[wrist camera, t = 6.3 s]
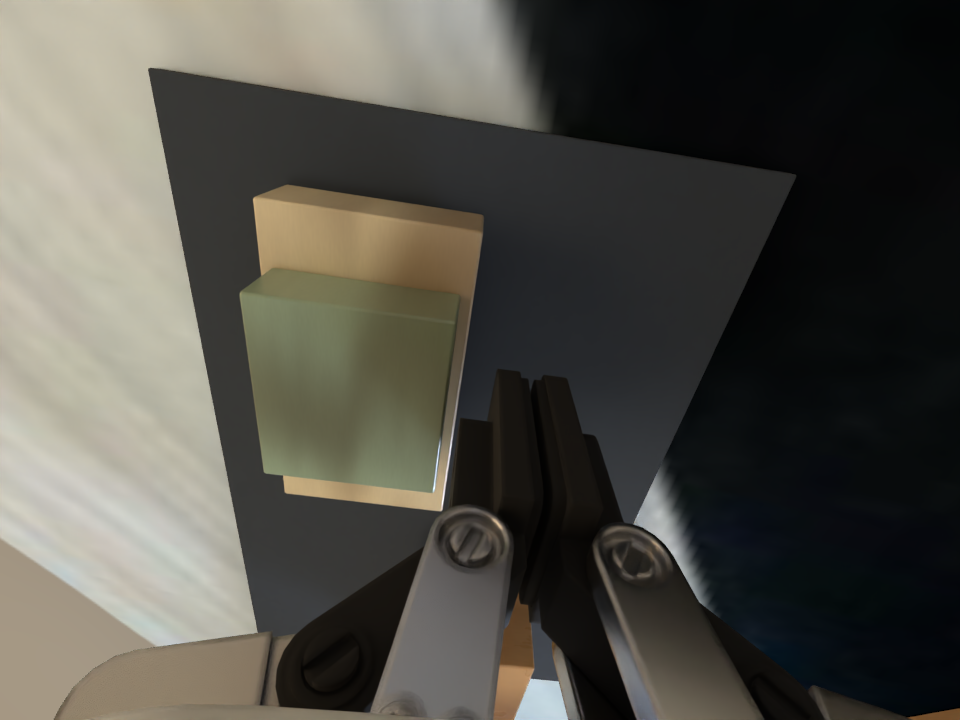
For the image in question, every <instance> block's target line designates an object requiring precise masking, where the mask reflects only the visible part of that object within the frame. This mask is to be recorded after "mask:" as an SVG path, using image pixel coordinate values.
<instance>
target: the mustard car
mask: <svg viewBox="0 0 960 720" xmlns="http://www.w3.org/2000/svg"><path fill="white" fill-rule="evenodd" d="M533 671H534V655H533V642H532V629H531V623H529V611H528V605H523V604H520V601H519V593H518V596H517V599H516V602H515V606H514V609H513V612H512V615H511V618H510V622H509V625H508V626H507V627H506V628H505V629H504V634H503V642H502V650H501V659H500V667H499V675H498V683H497V692H496V700H495V708H494V716H493V720H514V718H515V716H516V713H517V711H518V708H519V706H520V703H521V701H522V699H523V696H524V694H525V691H526V689H527V686H528V684H529V681H530V679H531V676H532V674H533Z"/></svg>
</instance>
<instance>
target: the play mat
mask: <svg viewBox="0 0 960 720" xmlns="http://www.w3.org/2000/svg"><path fill="white" fill-rule="evenodd" d="M148 71H149V76H150V81H151V87H152V92H153V97H154V102H155V107H156V112H157V117H158V122H159V128H160V133H161V138H162V143H163V148H164V153H165V158H166V163H167V169H168V174H169V179H170V184H171V189H172V194H173V199H174V205H175V210H176V215H177V220H178V225H179V230H180V235H181V240H182V246H183V251H184V256H185V261H186V266H187V271H188V276H189V281H190V287H191V292H192V297H193V302H194V307H195V312H196V317H197V322H198V328H199V333H200V338H201V343H202V348H203V353H204V358H205V364H206V369H207V374H208V379H209V384H210V389H211V394H212V399H213V405H214V410H215V415H216V420H217V425H218V430H219V435H220V440H221V446H222V451H223V456H224V461H225V466H226V471H227V476H228V481H229V487H230V492H231V497H232V502H233V507H234V512H235V517H236V523H237V528H238V533H239V538H240V543H241V548H242V553H243V558H244V564H245V569H246V574H247V579H248V584H249V589H250V594H251V599H252V605H253V610H254V615H255V620H256V625H257V630H258V633H261V632H269V631H272V633H273V637H278V636H285V635H292V634H297V633H298V632H299V631H300V630H301V629H302V628H304V627H305V626H306V625H307V624H308V623H310V622H311V621H313V620H314V619H316V618H317V617H319V616H320V615H322V614H323V613H325V612H326V611H328V610H329V609H331V608H332V607H334V606H335V605H337V604H338V603H340V602H341V601H343V600H344V599H346V598H347V597H349V596H350V595H352V594H353V593H355V592H356V591H358V590H359V589H361V588H362V587H364V586H365V585H367V584H368V583H370V582H371V581H373V580H374V579H376V578H377V577H379V576H380V575H382V574H383V573H385V572H386V571H388V570H389V569H391V568H392V567H394V566H395V565H397V564H398V563H400V562H401V561H403V560H404V559H406V558H407V557H409V556H410V555H412V554H413V553H415V552H416V551H418V550H419V549H421V548H422V547H424V546H425V544H426V541H427V538H428V535H429V532H430V528H431V526H432V525H433V523H434V521H435V519H436V518H437V517H438V516H439V515H440V514H441V513H442V512H443V511H445V510H447V509H448V506H449V497H450V487H451V478H452V469H453V461H454V454H455V447H456V440H457V433H458V427H459V421H460V418H467V419H474V420H482V421H487V418H488V412H489V407H490V402H491V397H492V392H493V386H494V381H495V376H496V372H497V369H505V370H513V371H520V373H521V378H528V380H529V387H530V392H531V388H532V384H533V381H534V380H541V378H542V376H543V375H550V376H557V377H565V378H567V380H568V383H569V386H570V390H571V394H572V397H573V401H574V404H575V408H576V411H577V415H578V419H579V422H580V426H581V429H582V433H583V434H591V435H594V436H595V437H596V438H597V440H598V443H599V446H600V449H601V452H602V456H603V459H604V462H605V465H606V468H607V471H608V474H609V477H610V481H611V484H612V487H613V490H614V493H615V496H616V499H617V503H618V506H619V509H620V512H621V515H622V518H623V521H624V523H631V524H633V523H634V520H635V518H636V516H637V514H638V512H639V510H640V508H641V506H642V503H643V501H644V499H645V497H646V495H647V493H648V491H649V489H650V486H651V484H652V482H653V480H654V478H655V476H656V474H657V472H658V469H659V467H660V465H661V463H662V461H663V459H664V457H665V455H666V452H667V450H668V448H669V446H670V444H671V442H672V440H673V438H674V435H675V433H676V431H677V429H678V427H679V425H680V423H681V421H682V418H683V416H684V414H685V412H686V410H687V408H688V406H689V404H690V401H691V399H692V397H693V395H694V393H695V391H696V389H697V387H698V384H699V382H700V380H701V378H702V376H703V374H704V372H705V370H706V367H707V365H708V363H709V361H710V359H711V357H712V355H713V353H714V350H715V348H716V346H717V344H718V342H719V340H720V338H721V336H722V333H723V331H724V329H725V327H726V325H727V323H728V321H729V319H730V316H731V314H732V312H733V310H734V308H735V306H736V304H737V302H738V299H739V297H740V295H741V293H742V291H743V289H744V287H745V285H746V282H747V280H748V278H749V276H750V274H751V272H752V270H753V268H754V265H755V263H756V261H757V259H758V257H759V255H760V253H761V251H762V248H763V246H764V244H765V242H766V240H767V238H768V236H769V234H770V231H771V229H772V227H773V225H774V223H775V221H776V219H777V217H778V214H779V212H780V210H781V208H782V206H783V204H784V202H785V200H786V197H787V195H788V193H789V191H790V189H791V187H792V185H793V183H794V180H795V178H796V175H795V174H791V173H785V172H779V171H773V170H767V169H761V168H755V167H749V166H743V165H737V164H731V163H725V162H719V161H713V160H707V159H701V158H695V157H689V156H683V155H677V154H670V153H664V152H658V151H652V150H646V149H640V148H634V147H628V146H622V145H616V144H610V143H604V142H598V141H592V140H586V139H580V138H574V137H568V136H562V135H556V134H550V133H543V132H537V131H531V130H525V129H519V128H513V127H507V126H501V125H495V124H489V123H483V122H477V121H471V120H465V119H459V118H453V117H447V116H441V115H435V114H429V113H423V112H416V111H410V110H404V109H398V108H392V107H386V106H380V105H374V104H368V103H362V102H356V101H350V100H344V99H338V98H332V97H326V96H320V95H314V94H308V93H302V92H296V91H289V90H283V89H277V88H271V87H265V86H259V85H253V84H247V83H241V82H235V81H229V80H223V79H217V78H211V77H205V76H199V75H193V74H187V73H181V72H175V71H168V70H162V69H155V68H149V69H148ZM284 185H293V186H300V187H306V188H313V189H319V190H326V191H332V192H339V193H345V194H352V195H358V196H365V197H371V198H378V199H384V200H391V201H397V202H404V203H410V204H417V205H423V206H430V207H436V208H443V209H449V210H456V211H462V212H469V213H475V214H481V215H483V216H484V225H483V237H482V244H481V251H480V258H479V264H478V271H477V278H476V285H475V292H474V298H473V305H472V312H471V319H470V326H469V333H468V339H467V346H466V353H465V360H464V367H463V373H462V380H461V387H460V394H459V401H458V407H457V414H456V421H455V428H454V435H453V441H452V448H451V455H450V462H449V469H448V475H447V482H446V489H445V496H444V503H443V509H442V511H432V510H424V509H415V508H407V507H398V506H390V505H381V504H372V503H364V502H355V501H347V500H338V499H330V498H321V497H313V496H304V495H296V494H287V493H285V489H284V480H283V475H274V474H266V473H264V469H263V462H262V455H261V447H260V440H259V433H258V425H257V418H256V411H255V404H254V396H253V389H252V382H251V375H250V367H249V360H248V353H247V346H246V338H245V331H244V324H243V316H242V309H241V302H240V292H241V291H242V290H243V289H245V288H246V287H247V286H249V285H250V284H251V283H253V282H254V281H255V280H257V279H258V278H259V277H261V268H260V259H259V250H258V240H257V231H256V222H255V213H254V203H253V198H254V197H256V196H258V195H261V194H264V193H266V192H269V191H271V190H274V189H276V188H279V187H282V186H284ZM531 629H532V642H533V655H534V671H533V674H532V676H531V679H541V680H551V681H559V680H558V676H557V672H556V668H555V664H554V660H553V653H552V642H553V641H552V640H551V639H550V638H549V637H548V636H547V635H546V634H545V632H544V631H543V630H542V629H541V624H537V623H531Z"/></svg>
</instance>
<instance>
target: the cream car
mask: <svg viewBox="0 0 960 720" xmlns="http://www.w3.org/2000/svg"><path fill="white" fill-rule="evenodd" d="M253 203H254V213H255V222H256V231H257V240H258V250H259V259H260V268H261V277H259V278H258V279H257V280H255V281H254V282H253V283H251V284H250V285H249V286H247V287H246V288H245V289H243V290H242V291H241V292H240V302H241V309H242V316H243V324H244V331H245V338H246V346H247V353H248V360H249V367H250V375H251V382H252V389H253V396H254V404H255V411H256V418H257V425H258V433H259V440H260V447H261V455H262V462H263V469H264V473H266V474H274V475H283V480H284V489H285V493H287V494H296V495H304V496H313V497H321V498H330V499H338V500H347V501H355V502H364V503H372V504H381V505H390V506H398V507H407V508H415V509H424V510H432V511H442V509H443V503H444V496H445V489H446V482H447V475H448V469H449V462H450V455H451V448H452V441H453V435H454V428H455V421H456V414H457V407H458V401H459V394H460V387H461V380H462V373H463V367H464V360H465V353H466V346H467V339H468V333H469V326H470V319H471V312H472V305H473V298H474V292H475V285H476V278H477V271H478V264H479V258H480V251H481V244H482V237H483V225H484V216H483V215H481V214H475V213H469V212H462V211H456V210H449V209H443V208H436V207H430V206H423V205H417V204H410V203H404V202H397V201H391V200H384V199H378V198H371V197H365V196H358V195H352V194H345V193H339V192H332V191H326V190H319V189H313V188H306V187H300V186H293V185H284V186H282V187H279V188H276V189H274V190H271V191H269V192H266V193H264V194H261V195H258V196H256V197H254V198H253Z"/></svg>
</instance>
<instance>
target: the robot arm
mask: <svg viewBox="0 0 960 720" xmlns="http://www.w3.org/2000/svg"><path fill="white" fill-rule="evenodd" d="M518 593H519V601H520V604H523V605H528V611H529V623H537V624H541V629H542V630H543V631H544V632H545V634H546V635H547V636H548V637H549V638H550V639H551V640H552V641H553V642H552V653H553V660H554V664H555V668H556V672H557V676H558V680H559V684H560V688H561V692H562V696H563V700H564V704H565V708H566V713H567V717H568V720H913V719H910V718H907V717H904V716H901V715H898V714H895V713H892V712H890V711H887V710H884V709H881V708H878V707H875V706H872V705H869V704H866V703H863V702H860V701H857V700H854V699H852V698H849V697H846V696H843V695H840V694H837V693H834V692H831V691H828V690H825V689H822V688H819V687H816V686H812V687H811V688H810V689H809V690H805V688H804V687H803V686H802V685H801V684H800V683H799V682H798V681H797V680H796V679H794V678H793V677H792V676H791V675H790V674H789V673H788V672H787V671H786V670H784V669H783V668H782V667H780V666H779V665H778V664H777V663H775V662H774V661H773V660H772V659H770V658H769V657H768V656H766V655H765V654H764V653H763V652H761V651H760V650H759V649H758V648H756V647H755V646H754V645H753V644H751V643H750V642H749V641H747V640H746V639H745V638H744V637H742V636H741V635H740V634H739V633H737V632H736V631H735V630H733V629H732V628H731V627H730V626H728V625H727V624H726V623H725V622H723V621H722V620H721V619H720V618H718V617H717V616H716V615H714V614H713V613H712V612H711V611H709V610H708V609H707V608H706V607H704V606H703V605H702V604H700V603H699V602H698V600H697V598H696V596H695V594H694V593H693V591H692V589H691V587H690V585H689V584H688V582H687V580H686V578H685V576H684V575H683V573H682V571H681V569H680V567H679V566H678V564H677V562H676V560H675V559H674V557H673V555H672V554H671V552H670V551H669V550H668V548H667V547H666V545H665V544H664V543H663V542H662V541H660V540H659V539H658V538H657V537H656V536H655V535H653V534H652V533H650V532H649V531H647V530H645V529H644V528H641V527H639V526H636V525H633V524H631V523H624V521H623V518H622V515H621V512H620V509H619V506H618V503H617V499H616V496H615V493H614V490H613V487H612V484H611V481H610V477H609V474H608V471H607V468H606V465H605V462H604V459H603V456H602V452H601V449H600V446H599V443H598V440H597V438H596V437H595V436H594V435H591V434H583V433H582V429H581V426H580V422H579V419H578V415H577V411H576V408H575V404H574V401H573V397H572V394H571V390H570V386H569V383H568V380H567V378H565V377H557V376H550V375H543V376H542V378H541V380H534V381H533V384H532V388H531V392H530V387H529V380H528V378H521V373H520V371H513V370H505V369H497V372H496V376H495V381H494V386H493V392H492V397H491V402H490V407H489V412H488V418H487V421H482V420H474V419H467V418H460V421H459V427H458V433H457V440H456V447H455V454H454V461H453V469H452V478H451V487H450V497H449V506H448V509H447V510H445V511H443V512H442V513H441V514H440V515H439V516H438V517H437V518H436V519H435V521H434V523H433V525H432V526H431V528H430V532H429V535H428V538H427V541H426V544H425V546H424V547H422V548H421V549H419V550H418V551H416V552H415V553H413V554H412V555H410V556H409V557H407V558H406V559H404V560H403V561H401V562H400V563H398V564H397V565H395V566H394V567H392V568H391V569H389V570H388V571H386V572H385V573H383V574H382V575H380V576H379V577H377V578H376V579H374V580H373V581H371V582H370V583H368V584H367V585H365V586H364V587H362V588H361V589H359V590H358V591H356V592H355V593H353V594H352V595H350V596H349V597H347V598H346V599H344V600H343V601H341V602H340V603H338V604H337V605H335V606H334V607H332V608H331V609H329V610H328V611H326V612H325V613H323V614H322V615H320V616H319V617H317V618H316V619H314V620H313V621H311V622H310V623H308V624H307V625H306V626H305V627H304V628H302V629H301V630H300V631H299V632H298V633H297V634H292V635H285V636H278V637H273V633H272V631H269V632H261V633H254V634H247V635H240V636H232V637H225V638H218V639H211V640H203V641H196V642H189V643H182V644H174V645H167V646H160V647H153V648H146V649H138V650H133V651H130V652H127V653H123V654H120V655H117V656H114V657H112V658H111V659H109V660H107V661H106V662H104V663H102V664H101V665H99V666H97V667H95V668H94V669H93V670H91V671H90V672H89V673H88V674H87V675H86V676H85V677H84V678H83V679H82V680H81V681H79V683H77V685H75V686H74V687H73V688H72V690H71V691H70V693H69V694H68V696H67V697H66V699H65V700H64V702H63V704H62V705H61V706H60V708H59V710H58V712H57V714H56V716H55V718H54V720H493V716H494V708H495V700H496V692H497V683H498V675H499V667H500V659H501V650H502V642H503V634H504V629H505V628H506V627H507V626H508V625H509V622H510V618H511V615H512V612H513V609H514V606H515V602H516V599H517V596H518Z"/></svg>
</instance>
